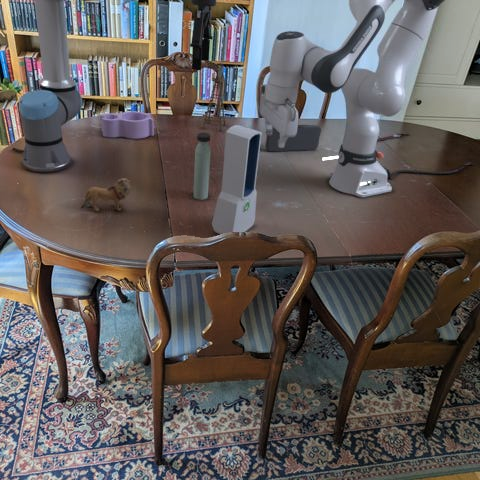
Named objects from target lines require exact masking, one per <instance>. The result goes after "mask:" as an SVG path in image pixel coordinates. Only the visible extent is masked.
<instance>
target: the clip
mask: <svg viewBox="0 0 480 480" xmlns="http://www.w3.org/2000/svg"><path fill="white" fill-rule="evenodd" d="M100 122H101V133H102V136H103V137H104V138H105V137H106V138H118V137H119V138H120V137H121V138H126V139H133V140H134V139H136V140H137V139H144V138H147V137H154V136H155V119H154V118H153V117H152V113H151V112H147V113H146V112H142V111H134V110H133V111H132V110H131V111H123V112H119V113H114V112H113V113H112V112H111V113H109V112H107V113H103V114H101V115H100Z"/></svg>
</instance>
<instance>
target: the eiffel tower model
mask: <svg viewBox="0 0 480 480" xmlns="http://www.w3.org/2000/svg"><path fill="white" fill-rule="evenodd" d="M220 59H221V60H220V62H218V64H217V65H216V64H215V63H212V62H208V63H207V69H215V68H216V69H217V71H216V75H215V77H213V79H211V81H212V82H214V83H213V85H212V90H211V95H210V97H209V102H208V107H207V110H206V112H205V117H204V119H203V120H204V122H203V126H202V129H205V126H206V122H207V123H210V122H213V123H219V132H221V131H222V123H223V126H226V116H225V109H224V100H223V94H222V84H221V83H223V82H225V79H223V78H222V75H223V69H224V57H223V55H221V56H220ZM216 89H217V91H218V93H215V92H216ZM215 96H216V97H215ZM214 99H217V100H218V104H216V103H213V102H214ZM213 106H216V107H217V106H218V108H216V107H213ZM212 110H217V111H218V113H219V114H218V115H216V114H211V113H212ZM221 111H222V113H221ZM211 117H216V118H219V119H218V120H219V121H218V120H212V119H211Z"/></svg>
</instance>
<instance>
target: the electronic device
mask: <svg viewBox="0 0 480 480" xmlns="http://www.w3.org/2000/svg"><path fill="white" fill-rule="evenodd" d="M262 134H263V132H262V131H259V130H256V129H253V128H249V127H245V126H242V125H239V124H234V125H233V126H230V127H229V128H228V129H227V130H226V132H225V142H224V153H223V166H222V167H223V168H222V180H221V191H220V193H219V195H218V197H217V201H216V204H215V209H214V212H213V217H212V221H211V226H212V229H213V232H214V233H216V234H217V235H220V234H223V233H228V232H244V233H245V232H246V231H248V230H249V229H250V228H252V227H253V225H254V223H255V221H256V210H257V209H256V208H257V195H258V194H257V193H258V191H257V190H256V185H257V184H256V183H257V176H258V175H257V174H258V169H259V168H258V167H259V159H260V151H261V142H262Z"/></svg>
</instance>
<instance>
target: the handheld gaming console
mask: <svg viewBox="0 0 480 480" xmlns="http://www.w3.org/2000/svg"><path fill="white" fill-rule="evenodd" d="M272 130H273V133H272V136H267V135H266V139H265V145H264V146H265V150H267V151H268V152H289V151H290V152H292V151H294V152H295V151H312V150H317V148H318V147H319V144H320V137H321V133H322V127H321V126H319V125H318V124H298V127H297V133H296V135H295V137H288V139H287V140H286V142H285V146H284V148H279V147H278V146H277V141H278V140H279V139H280V133H279V132H278V131H277V130H276V129H275V128H274V127H273V126H272Z"/></svg>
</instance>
